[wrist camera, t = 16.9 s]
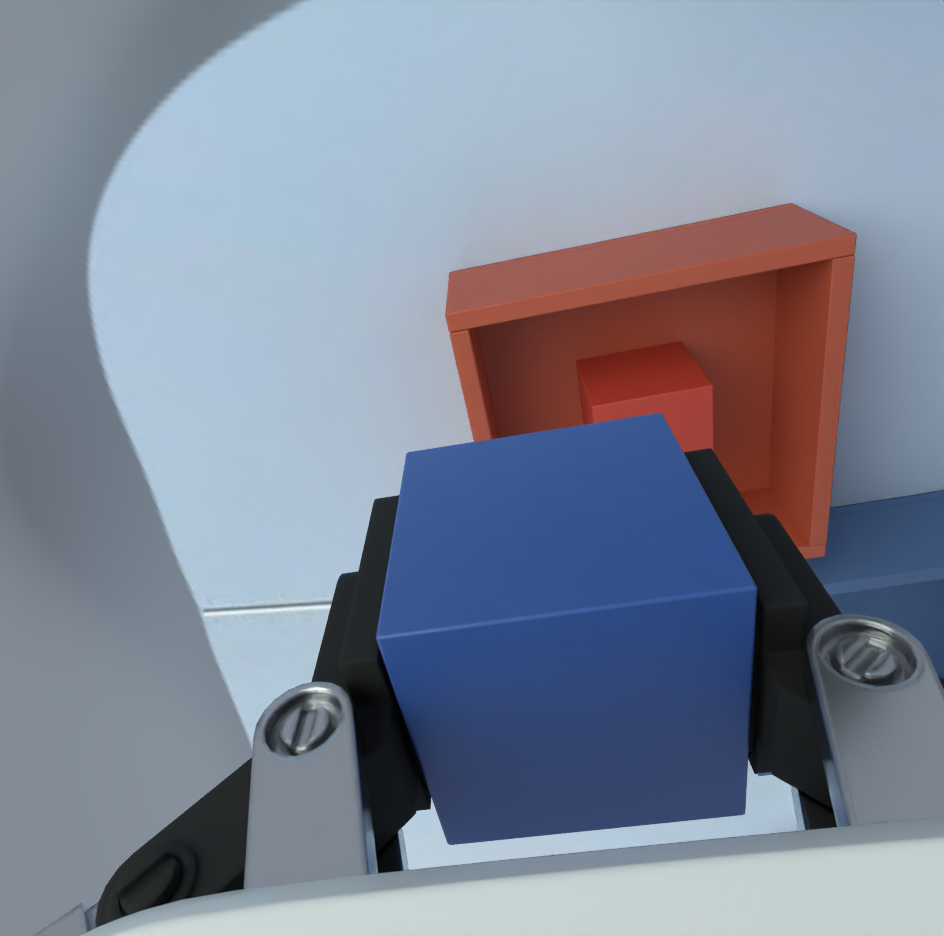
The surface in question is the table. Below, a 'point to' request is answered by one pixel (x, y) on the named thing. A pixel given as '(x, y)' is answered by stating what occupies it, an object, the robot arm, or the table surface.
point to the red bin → (686, 320)
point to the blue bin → (889, 565)
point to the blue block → (569, 633)
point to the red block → (650, 391)
